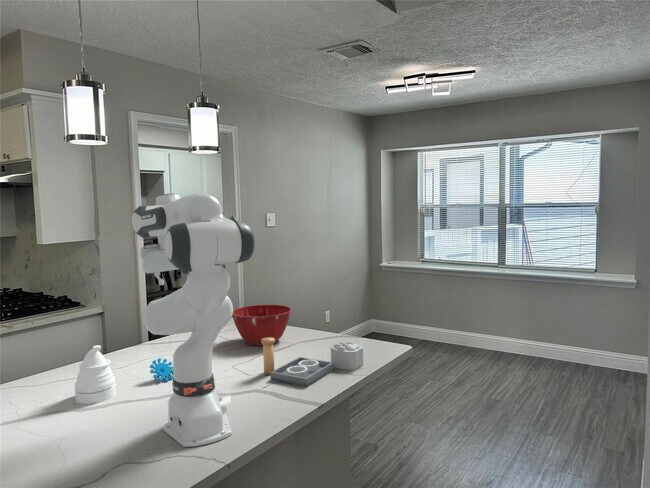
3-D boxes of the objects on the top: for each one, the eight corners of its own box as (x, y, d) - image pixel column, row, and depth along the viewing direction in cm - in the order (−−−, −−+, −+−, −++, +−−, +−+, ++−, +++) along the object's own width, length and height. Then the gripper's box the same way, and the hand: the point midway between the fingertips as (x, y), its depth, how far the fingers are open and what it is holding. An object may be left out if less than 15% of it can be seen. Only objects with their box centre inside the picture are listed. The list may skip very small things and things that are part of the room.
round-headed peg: (278, 373, 185) (277, 339, 184) (265, 376, 183) (264, 341, 182) (272, 369, 190) (271, 336, 189) (260, 372, 187) (259, 338, 186)
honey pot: (124, 392, 171) (121, 342, 169) (93, 406, 159) (89, 353, 158) (98, 387, 176) (95, 339, 175) (67, 400, 164) (63, 349, 163)
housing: (270, 380, 179) (270, 370, 178) (299, 364, 196) (299, 355, 196) (307, 387, 171) (306, 377, 170) (334, 369, 188) (333, 361, 188)
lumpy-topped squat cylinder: (353, 371, 186) (352, 349, 185) (325, 365, 193) (324, 344, 193) (366, 363, 195) (365, 342, 194) (339, 358, 202) (338, 338, 201)
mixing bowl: (238, 334, 245) (237, 304, 244) (294, 332, 245) (293, 303, 243) (226, 351, 217) (225, 317, 215) (289, 349, 216) (288, 315, 215)
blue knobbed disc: (155, 381, 175) (147, 358, 180) (149, 390, 178) (141, 367, 183) (182, 377, 184) (174, 355, 189) (176, 385, 186) (168, 363, 191)
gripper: (141, 246, 153) (146, 288, 155) (204, 239, 164) (207, 279, 166) (137, 245, 159) (142, 286, 160) (198, 238, 169) (201, 276, 171)
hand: (176, 282), depth 163 cm, fingers open, 8 cm apart
